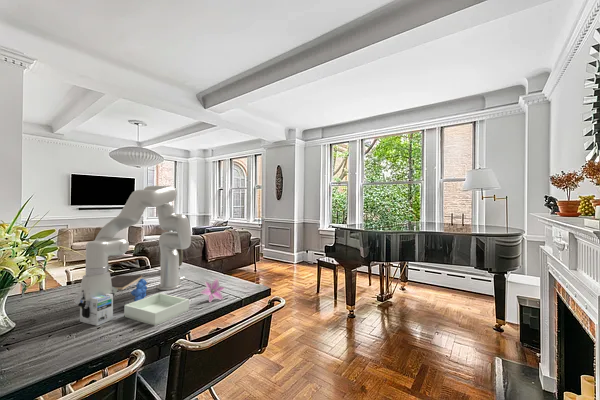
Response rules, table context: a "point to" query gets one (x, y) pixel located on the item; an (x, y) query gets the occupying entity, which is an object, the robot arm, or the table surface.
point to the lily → (213, 290)
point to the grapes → (140, 290)
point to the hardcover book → (124, 281)
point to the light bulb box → (99, 310)
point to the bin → (156, 308)
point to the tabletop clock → (179, 256)
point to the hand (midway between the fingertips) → (96, 313)
